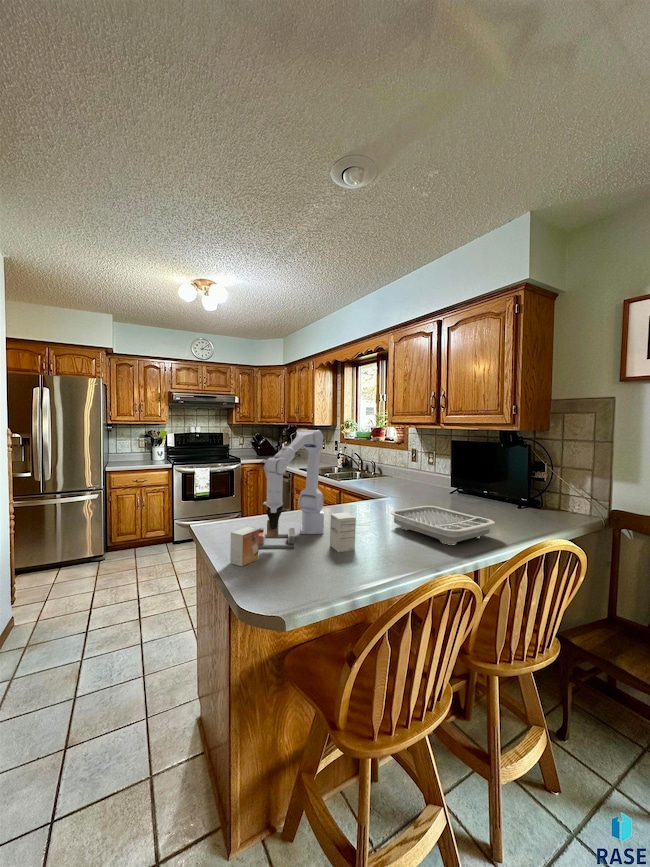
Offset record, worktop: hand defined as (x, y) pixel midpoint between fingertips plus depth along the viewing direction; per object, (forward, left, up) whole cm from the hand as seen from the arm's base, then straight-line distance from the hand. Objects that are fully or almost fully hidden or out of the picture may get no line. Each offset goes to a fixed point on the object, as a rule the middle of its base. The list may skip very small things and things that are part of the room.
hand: (274, 527), depth 130 cm
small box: (+9, +11, -9) cm, 16 cm away
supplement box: (-26, 0, -9) cm, 27 cm away
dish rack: (-72, -17, -9) cm, 74 cm away
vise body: (+1, -7, -8) cm, 11 cm away
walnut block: (0, 0, -3) cm, 3 cm away
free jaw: (+5, -7, -8) cm, 12 cm away
